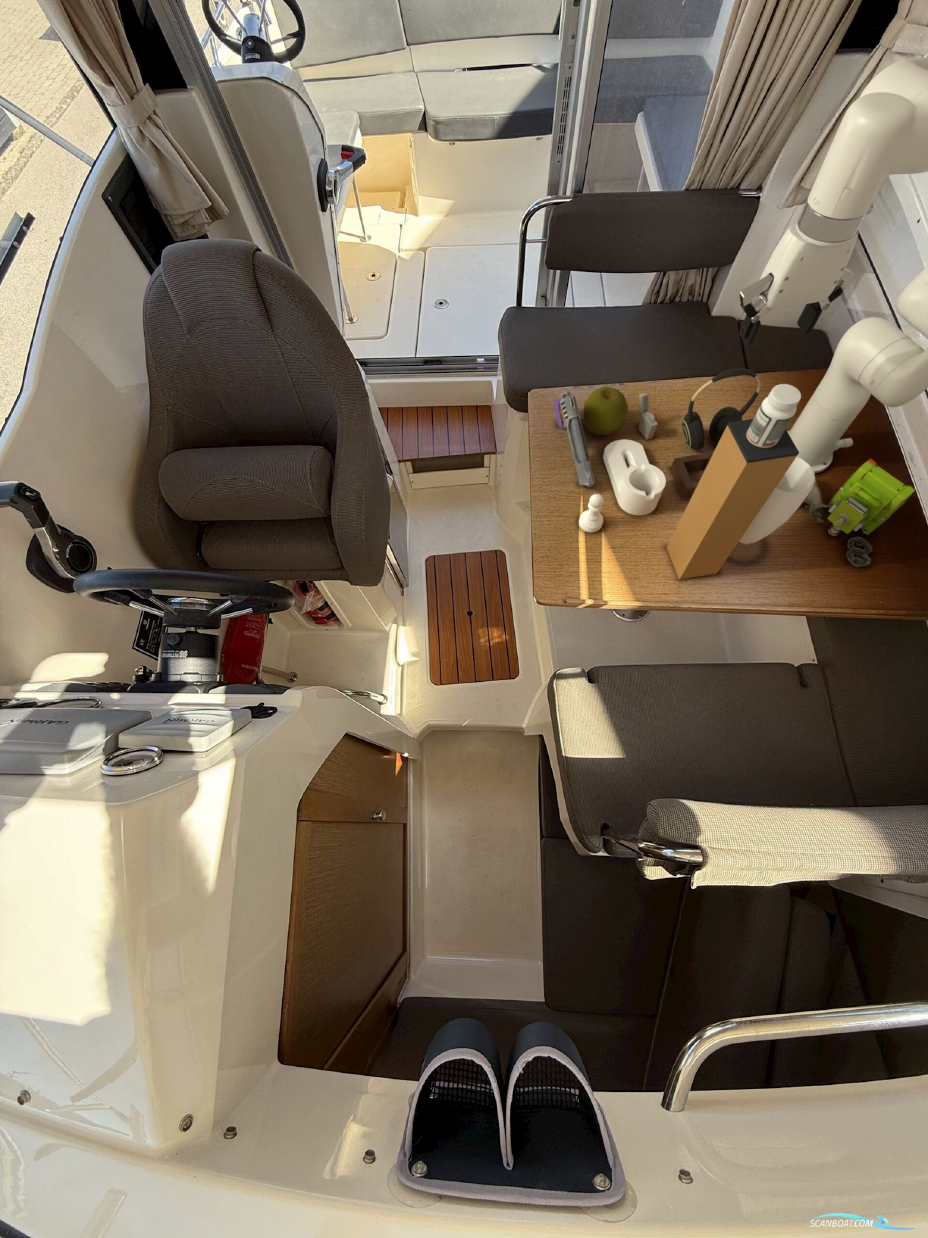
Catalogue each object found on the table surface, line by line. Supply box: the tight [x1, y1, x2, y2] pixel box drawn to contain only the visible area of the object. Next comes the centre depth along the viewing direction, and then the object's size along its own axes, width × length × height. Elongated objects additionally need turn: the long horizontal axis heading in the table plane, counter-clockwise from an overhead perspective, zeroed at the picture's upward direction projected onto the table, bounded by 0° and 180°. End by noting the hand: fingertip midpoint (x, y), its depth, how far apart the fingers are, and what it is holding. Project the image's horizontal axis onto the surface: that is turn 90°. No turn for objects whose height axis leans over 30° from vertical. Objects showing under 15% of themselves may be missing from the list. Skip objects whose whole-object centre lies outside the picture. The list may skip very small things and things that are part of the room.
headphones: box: [681, 367, 762, 451], centre depth 124 cm, size 9×15×20 cm, turn 98°
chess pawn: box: [578, 493, 604, 533], centre depth 119 cm, size 5×5×9 cm
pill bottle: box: [747, 383, 802, 448], centre depth 84 cm, size 5×5×8 cm
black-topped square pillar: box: [666, 418, 799, 580], centre depth 103 cm, size 8×8×35 cm
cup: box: [738, 457, 816, 545], centre depth 110 cm, size 10×10×22 cm
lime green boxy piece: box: [827, 458, 916, 537], centre depth 115 cm, size 13×16×14 cm
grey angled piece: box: [638, 392, 659, 441], centre depth 132 cm, size 7×2×8 cm, turn 22°
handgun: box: [552, 390, 596, 488], centre depth 130 cm, size 3×22×15 cm
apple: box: [582, 386, 629, 436], centre depth 131 cm, size 10×10×11 cm
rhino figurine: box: [802, 479, 830, 524], centre depth 121 cm, size 4×14×6 cm, turn 7°
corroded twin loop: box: [845, 535, 874, 568], centre depth 117 cm, size 5×8×1 cm, turn 156°
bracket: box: [602, 439, 667, 516], centre depth 125 cm, size 20×9×7 cm, turn 8°
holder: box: [669, 451, 714, 500], centre depth 126 cm, size 9×9×4 cm
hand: (773, 334), depth 91 cm, fingers open, 9 cm apart
